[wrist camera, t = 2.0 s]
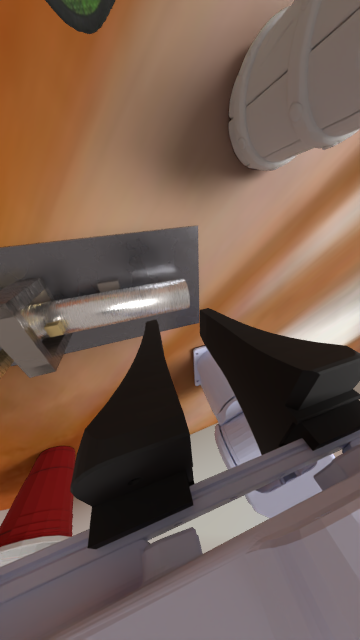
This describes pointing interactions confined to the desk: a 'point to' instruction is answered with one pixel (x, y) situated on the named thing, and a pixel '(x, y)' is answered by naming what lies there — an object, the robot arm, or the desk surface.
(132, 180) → the desk surface
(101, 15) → the mouse mat
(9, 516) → the plastic cup
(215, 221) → the desk surface
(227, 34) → the desk surface
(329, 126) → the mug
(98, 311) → the tube
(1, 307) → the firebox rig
